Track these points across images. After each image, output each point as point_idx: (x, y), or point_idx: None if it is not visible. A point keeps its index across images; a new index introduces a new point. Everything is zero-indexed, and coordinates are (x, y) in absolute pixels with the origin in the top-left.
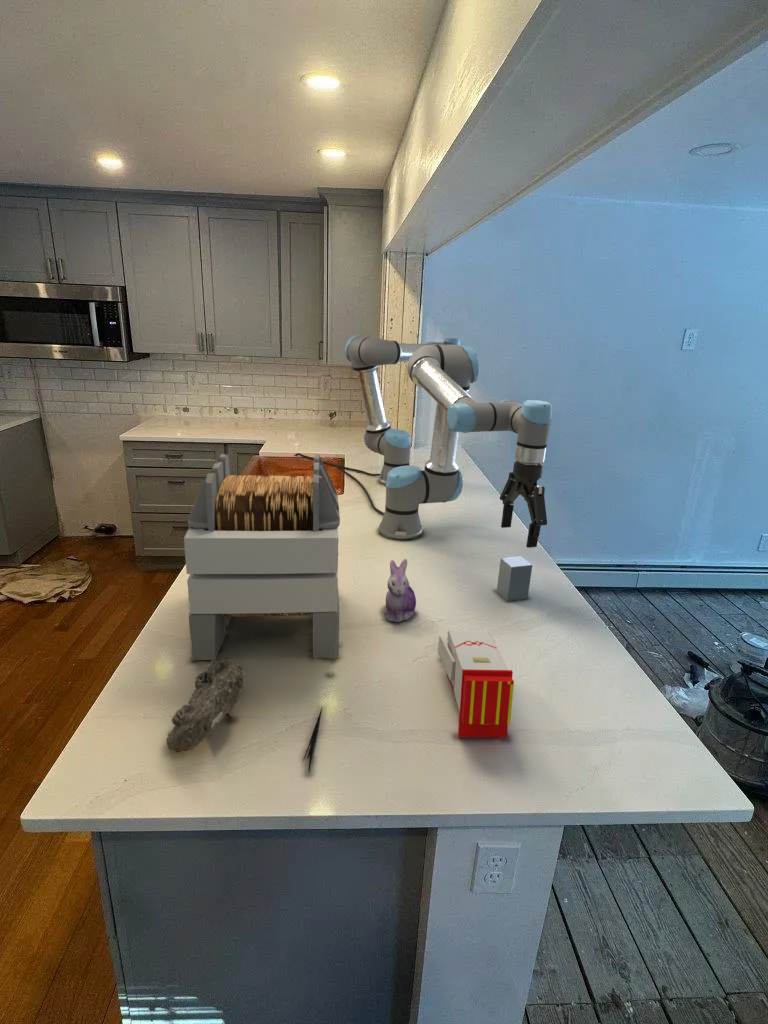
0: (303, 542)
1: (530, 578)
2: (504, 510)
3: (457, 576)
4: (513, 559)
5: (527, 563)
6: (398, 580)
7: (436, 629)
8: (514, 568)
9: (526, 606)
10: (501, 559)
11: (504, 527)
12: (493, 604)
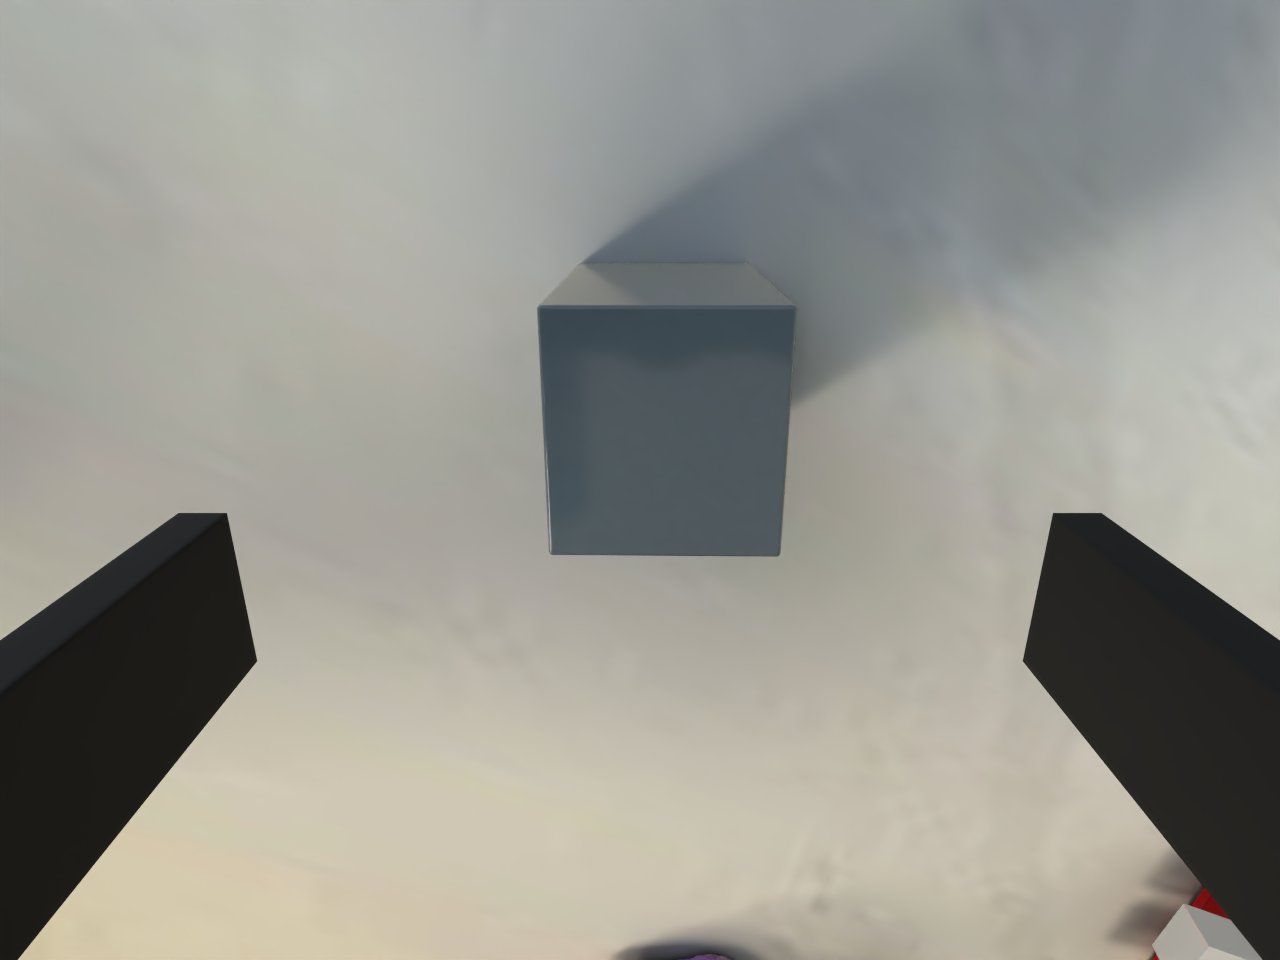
0: None
1: (772, 285)
2: (23, 947)
3: (321, 590)
4: (610, 443)
5: (744, 343)
6: None
7: (893, 913)
8: (781, 519)
9: (847, 337)
10: (570, 552)
11: (249, 627)
12: None
